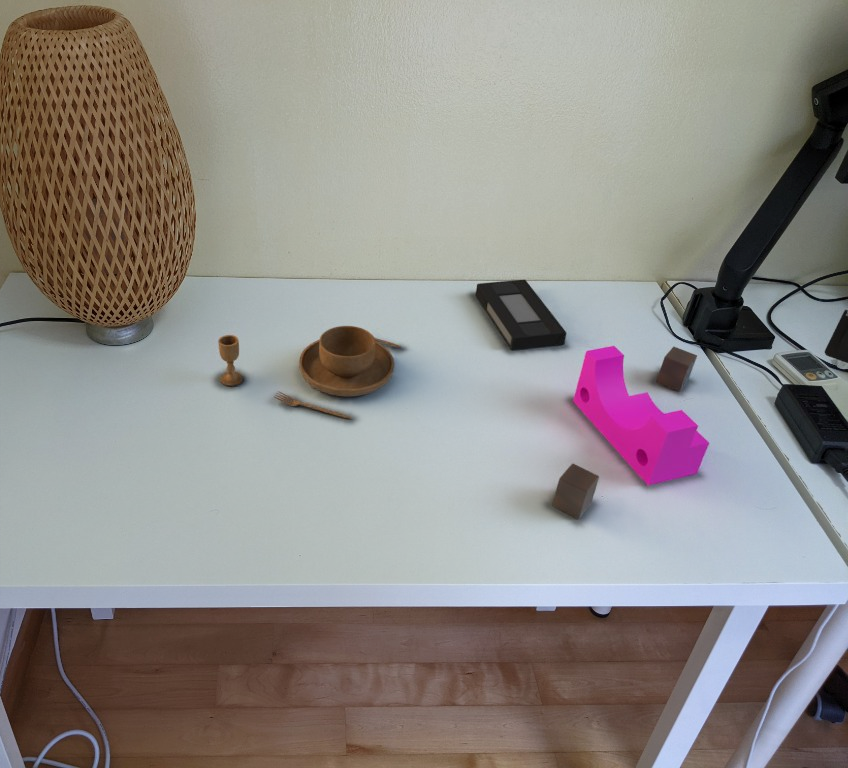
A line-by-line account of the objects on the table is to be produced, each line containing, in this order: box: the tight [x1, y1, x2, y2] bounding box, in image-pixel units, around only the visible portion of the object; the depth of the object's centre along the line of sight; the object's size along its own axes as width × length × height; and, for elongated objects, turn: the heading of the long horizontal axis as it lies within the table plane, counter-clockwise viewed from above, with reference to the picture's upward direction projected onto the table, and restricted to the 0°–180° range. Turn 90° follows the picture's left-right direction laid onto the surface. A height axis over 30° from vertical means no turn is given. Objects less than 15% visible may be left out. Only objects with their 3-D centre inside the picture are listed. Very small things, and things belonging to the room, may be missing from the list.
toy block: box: [572, 345, 710, 486], centre depth 87 cm, size 15×6×8 cm, turn 18°
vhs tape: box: [475, 279, 568, 351], centre depth 108 cm, size 8×14×2 cm, turn 11°
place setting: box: [217, 325, 402, 420], centre depth 97 cm, size 18×20×6 cm
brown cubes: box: [551, 346, 698, 520], centre depth 88 cm, size 3×31×4 cm, turn 140°
